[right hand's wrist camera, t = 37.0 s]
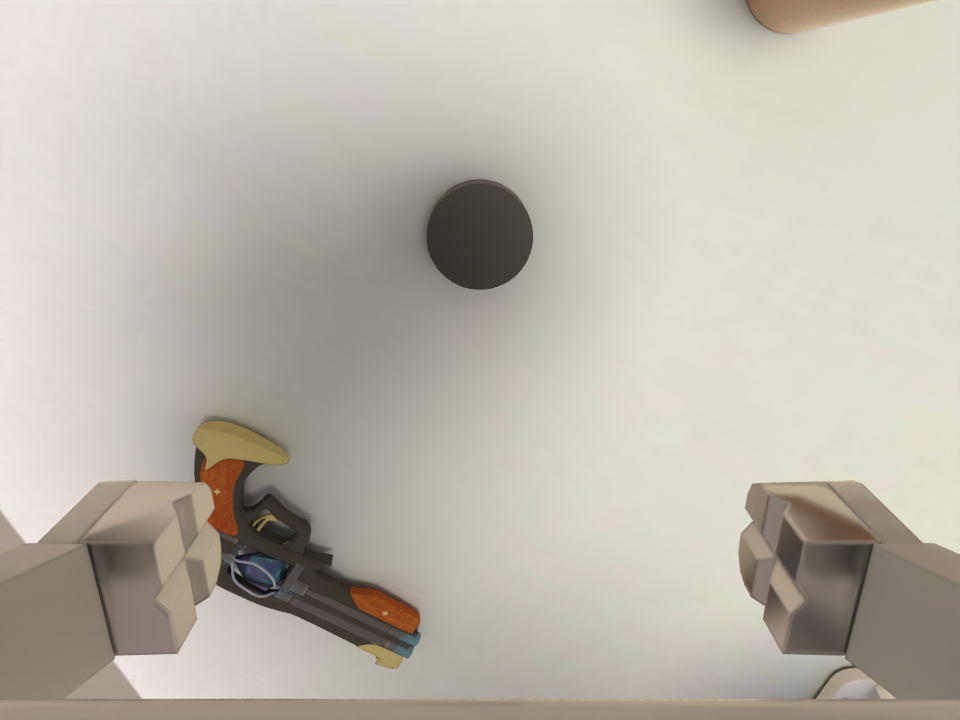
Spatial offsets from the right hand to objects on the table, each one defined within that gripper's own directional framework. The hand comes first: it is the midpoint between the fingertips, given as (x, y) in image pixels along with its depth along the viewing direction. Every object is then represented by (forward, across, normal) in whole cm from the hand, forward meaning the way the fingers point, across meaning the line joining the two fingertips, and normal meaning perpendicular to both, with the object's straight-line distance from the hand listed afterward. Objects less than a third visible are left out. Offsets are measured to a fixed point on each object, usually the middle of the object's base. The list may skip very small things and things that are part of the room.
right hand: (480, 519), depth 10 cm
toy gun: (+27, -10, -20) cm, 35 cm away
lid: (+26, 0, 0) cm, 26 cm away
